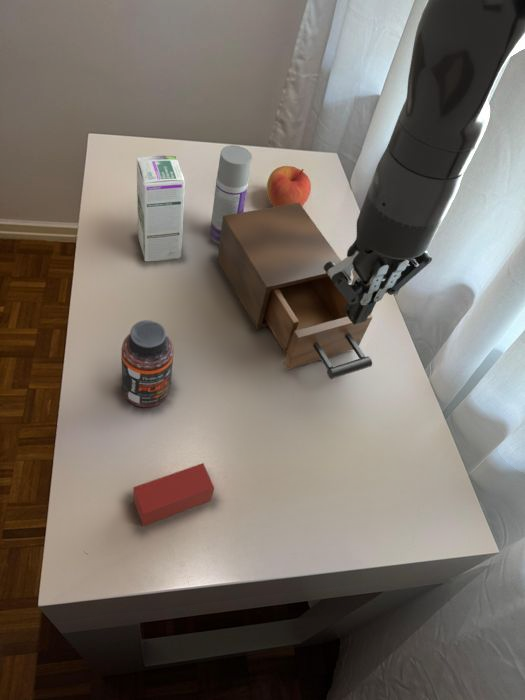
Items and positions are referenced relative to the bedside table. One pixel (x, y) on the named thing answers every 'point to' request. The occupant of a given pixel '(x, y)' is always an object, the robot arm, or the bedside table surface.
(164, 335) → the supplement bottle
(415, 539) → the bedside table surface
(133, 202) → the bedside table surface
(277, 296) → the drawer
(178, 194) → the syrup box
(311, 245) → the cabinet
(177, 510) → the red rectangular brick
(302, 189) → the apple
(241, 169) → the container
